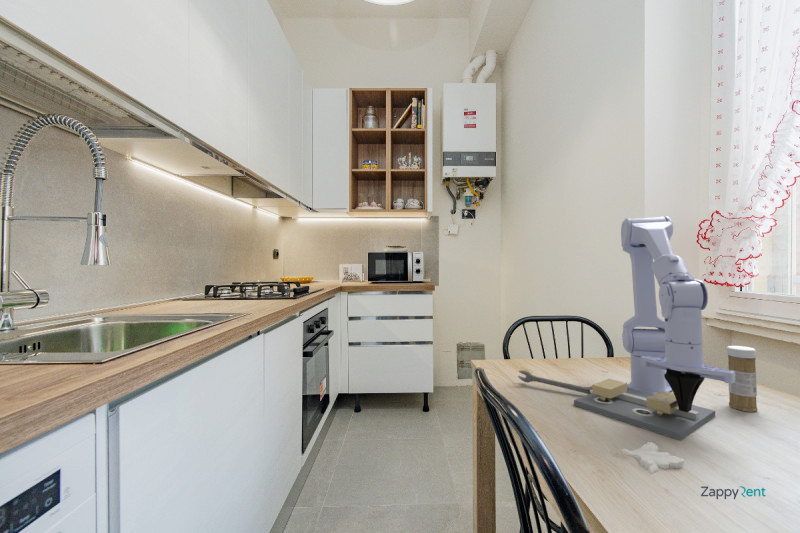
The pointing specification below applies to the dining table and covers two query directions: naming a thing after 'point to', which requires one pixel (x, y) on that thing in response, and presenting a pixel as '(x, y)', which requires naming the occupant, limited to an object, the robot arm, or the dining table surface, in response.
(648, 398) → the block
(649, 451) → the acanthus leaf ornament
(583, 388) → the combination wrench
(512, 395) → the dining table surface
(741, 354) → the sprinkles bottle
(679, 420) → the bolt plate
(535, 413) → the dining table surface
